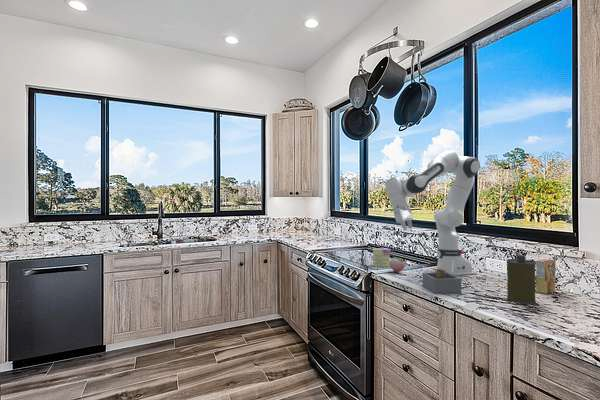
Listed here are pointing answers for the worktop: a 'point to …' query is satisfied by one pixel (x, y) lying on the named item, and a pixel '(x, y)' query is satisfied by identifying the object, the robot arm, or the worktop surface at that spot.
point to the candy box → (545, 276)
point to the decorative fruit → (397, 264)
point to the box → (381, 257)
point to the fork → (412, 263)
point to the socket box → (442, 283)
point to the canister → (521, 280)
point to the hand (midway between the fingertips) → (408, 229)
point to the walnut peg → (441, 274)
